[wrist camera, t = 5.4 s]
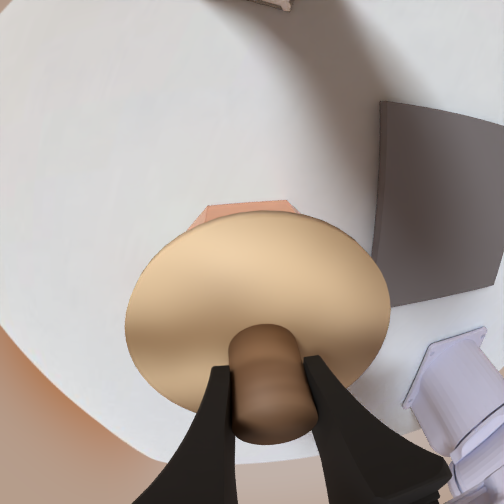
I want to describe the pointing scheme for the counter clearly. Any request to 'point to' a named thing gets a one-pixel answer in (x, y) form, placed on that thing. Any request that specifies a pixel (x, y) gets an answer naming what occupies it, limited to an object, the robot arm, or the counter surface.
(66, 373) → the counter surface
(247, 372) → the lid
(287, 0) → the skyscraper
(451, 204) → the mat
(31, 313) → the counter surface
